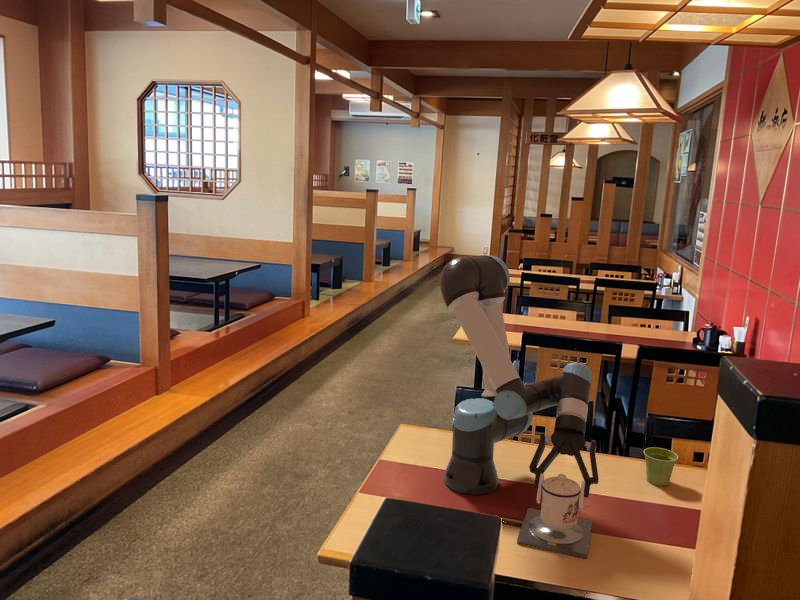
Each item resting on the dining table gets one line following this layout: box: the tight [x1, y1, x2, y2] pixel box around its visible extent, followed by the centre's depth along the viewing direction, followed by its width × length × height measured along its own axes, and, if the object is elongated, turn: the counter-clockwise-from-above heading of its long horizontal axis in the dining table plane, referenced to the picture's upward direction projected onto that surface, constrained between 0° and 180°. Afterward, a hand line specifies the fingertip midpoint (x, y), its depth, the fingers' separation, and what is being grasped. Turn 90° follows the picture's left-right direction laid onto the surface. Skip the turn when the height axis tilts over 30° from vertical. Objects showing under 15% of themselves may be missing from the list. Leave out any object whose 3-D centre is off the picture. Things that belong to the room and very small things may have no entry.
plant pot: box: [642, 446, 679, 487], centre depth 186 cm, size 9×9×9 cm
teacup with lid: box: [540, 473, 581, 529], centre depth 154 cm, size 12×9×12 cm
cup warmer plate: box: [501, 507, 593, 560], centre depth 157 cm, size 23×16×2 cm
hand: (559, 505), depth 151 cm, fingers closed on teacup with lid, 9 cm apart
